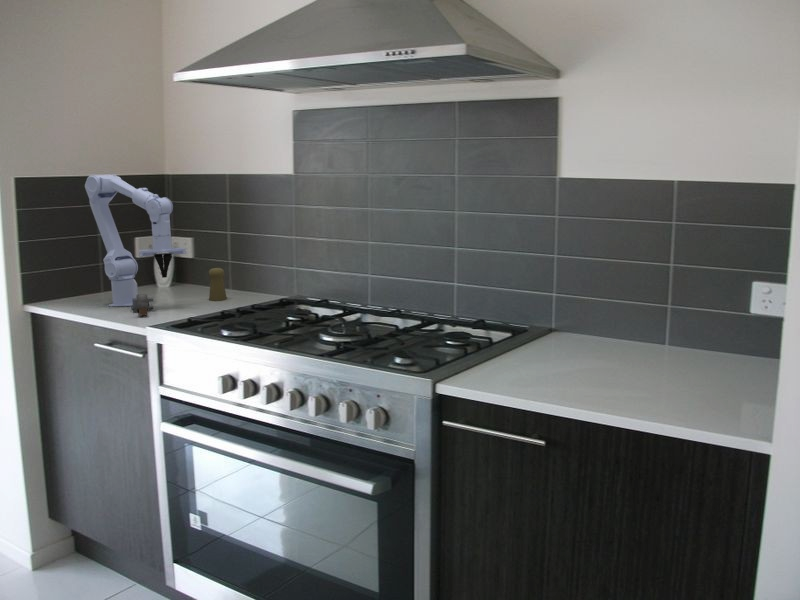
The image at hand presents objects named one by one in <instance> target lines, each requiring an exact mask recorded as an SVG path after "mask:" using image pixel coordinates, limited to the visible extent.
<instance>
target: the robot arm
mask: <svg viewBox="0 0 800 600" xmlns="http://www.w3.org/2000/svg"><path fill="white" fill-rule="evenodd" d="M84 188H85V191H86V195H87V196H88V199H89V206H90V209H91V212H92V214H93V217H94V220H95V222H96V225H97V229H98V230H99V234H100V236H101V239H102V241H103V244H104V247H105V250H106V255H105V257H104V258H103V263H104V273H105V275H106V276H107V277H108V280H110V284H111V297H112V303H110V304H108V307H132V306H133V301H132V298H137V296H136V295H138V293H139V291H138V282H137V281H136V279H134V278H136V275H137V272H138V270H139V265H138V262H137V260H136V259H135V258H134V257H133V254H132V253H131V251H129V250H127V249H125V247H124V245H123V242H122V240H121V237H120V233H119V232H118V231H119V230H118V229H117V226H116V223H115V220H114V218H113V215H112V212H111V209H110V207H109V204H110V202H111V201H112V200H113V198H114V197H115V196H116V195H117V193H120V194H121V195H123V196H125V197H128V198H130V199H131V200H132V203H133V204H134V205H136V206H138V207H140V208H142V209H144V210H145V211H146V213H147V214H148V216H149V220H150V223H151V234H152V247H153V248H150V249H149V248H148V249H147V248H146V249H138V256H139V257H151V256H154V257H153V258H155V260H156V262H157V265H158V266H159V267H158V268H159V269H160V272H161V273H160V274H161V277H162V278H168V271H169V270H168V269H169V268H170V267H169V266H170V263H171V262H172V261H171V260H172V258H173V256H172V255H186V254H187V248H186V247H173V246H172V233H171V220H170V215H171V214H172V212H173V210H174V209H173V208H174V204H173V202H172V201H171V199H170V198H168V197H165V196H164V197H160V196H159V194H157V193H155V194H154V193H153V192H150V191H149V188H147V187H139V188H135V186H133V185H131V184H129V183H127V182H126V181H124V180H123V179H122V178H121V177H120V176H118V175H116V174H115V173H111V174H110V173H109V174H90V175H89V176H88V177H87V178H86V181H85V184H84Z"/></svg>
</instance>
